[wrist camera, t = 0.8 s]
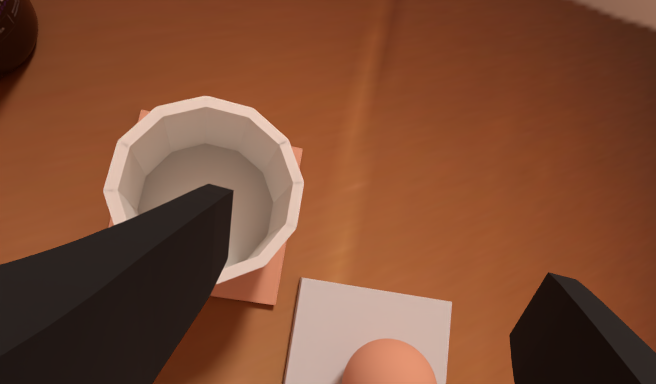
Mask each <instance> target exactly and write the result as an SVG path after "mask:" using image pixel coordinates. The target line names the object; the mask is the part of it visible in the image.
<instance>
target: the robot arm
mask: <svg viewBox="0 0 656 384" xmlns="http://www.w3.org/2000/svg"><path fill="white" fill-rule="evenodd" d="M233 193H234V190H231V189H227V188H224V187H220V186H216V185H212V184H206V185H204V186H201V187H199V188H197V189H194V190H192V191H190V192H188V193H186V194H184V195H181V196H179V197H177V198H175V199H173V200H171V201H169V202H166V203H164V204H162V205H160V206H158V207H155V208H153V209H151V210H149V211H147V212H144V213H142V214H140V215H138V216H136V217H133V218H131V219H129V220H126V221H124V222H121V223H119V224H116V225H114V226H111V227H109V228H106V229H104V230H101V231H99V232H96V233H94V234H92V235H89V236H87V237H84V238H82V239H79V240H76V241H73V242H71V243H68V244H65V245H62V246H59V247H56V248H53V249H50V250H47V251H44V252H41V253H38V254H35V255H31V256H28V257H25V258H22V259H19V260H15V261H12V262H9V263H5V264H2V265H0V384H152V383H153V382H154V380H155V378H156V377H157V375H158V374H159V372H160V371H161V369H162V368H163V366H164V365H165V363H166V362H167V360H168V359H169V357H170V356H171V354H172V353H173V351H174V350H175V348H176V347H177V345H178V344H179V342H180V341H181V339H182V338H183V336H184V335H185V333H186V332H187V330H188V328H189V327H190V325H191V324H192V322H193V321H194V319H195V318H196V316H197V315H198V313H199V312H200V310H201V309H202V307H203V306H204V304H205V302H206V301H207V299H208V298H209V296H210V295H211V293H212V291H213V289H214V287H215V285H216V283H217V281H218V279H219V277H220V274H221V272H222V270H223V268H224V266H225V264H226V262H227V260H228V253H229V241H230V229H231V217H232V205H233ZM510 347H511V359H512V368H513V376H514V382H515V384H656V353H655V352H654V351H653V350H652V349H651V348H650V347H649V346H648V345H647V344H646V343H645V342H644V341H643V340H642V339H640V338H639V337H638V336H637V335H636V334H635V333H634V332H633V331H632V330H631V329H630V328H629V327H628V326H627V325H626V324H625V323H624V322H623V321H622V320H621V319H620V318H619V317H618V316H617V315H615V314H614V313H613V312H612V311H611V310H610V309H609V308H608V307H607V306H606V305H605V304H604V303H603V302H602V301H601V300H599V299H598V298H597V297H596V296H595V295H594V294H593V293H592V292H591V291H589V290H588V289H587V288H586V287H585V286H584V285H582V284H581V283H580V282H579V281H577V280H576V279H572V278H568V277H564V276H560V275H556V274H553V273H549V272H548V274H547V275H546V277H545V279H544V280H543V282H542V283H541V285H540V287H539V288H538V290H537V291H536V293H535V295H534V296H533V298H532V300H531V301H530V303H529V304H528V306H527V308H526V309H525V311H524V312H523V314H522V316H521V317H520V319H519V321H518V322H517V324H516V325H515V327H514V329H513V330H512V332H511V333H510Z"/></svg>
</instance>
